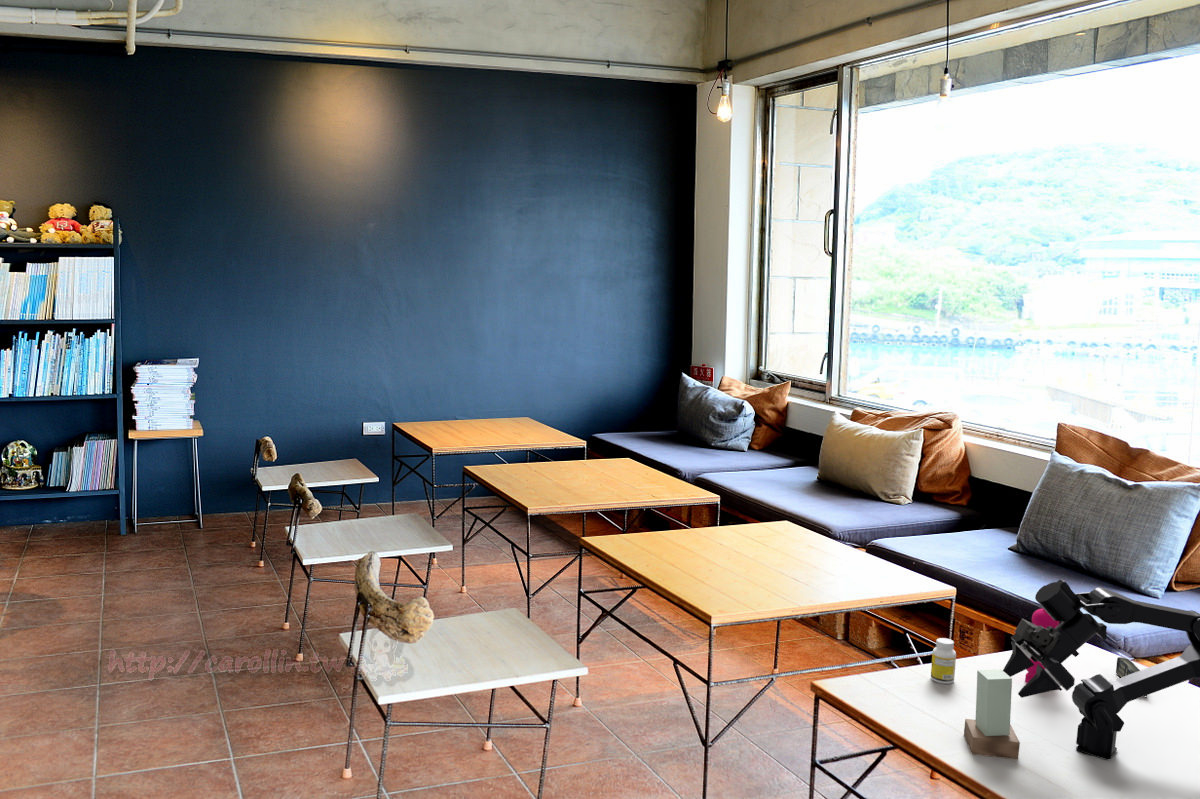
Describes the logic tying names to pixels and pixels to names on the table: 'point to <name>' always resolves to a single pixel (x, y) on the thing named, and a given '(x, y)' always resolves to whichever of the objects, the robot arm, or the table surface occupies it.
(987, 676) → the tall block
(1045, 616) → the pepper mill
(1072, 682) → the robot arm
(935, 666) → the supplement bottle
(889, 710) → the table surface
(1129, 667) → the mobile phone
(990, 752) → the walnut block
